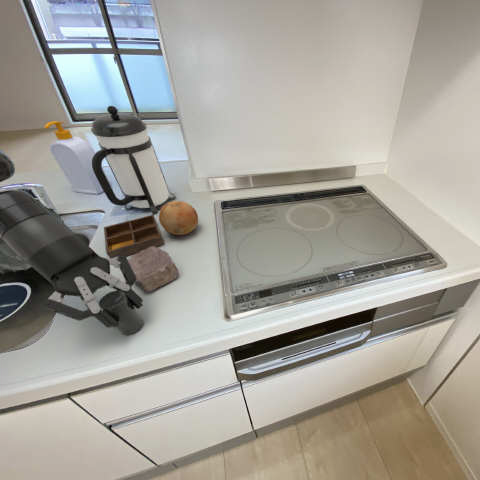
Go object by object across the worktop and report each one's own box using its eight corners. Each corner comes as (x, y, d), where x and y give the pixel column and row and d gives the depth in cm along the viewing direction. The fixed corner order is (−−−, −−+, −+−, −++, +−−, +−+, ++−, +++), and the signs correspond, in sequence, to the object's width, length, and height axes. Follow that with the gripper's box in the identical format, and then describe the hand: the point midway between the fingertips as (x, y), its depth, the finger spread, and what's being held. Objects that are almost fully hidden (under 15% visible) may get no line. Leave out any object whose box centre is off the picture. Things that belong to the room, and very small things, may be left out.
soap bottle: (73, 193, 90) (29, 123, 75) (89, 184, 95) (51, 117, 81) (97, 196, 89) (58, 126, 75) (112, 186, 95) (78, 119, 80)
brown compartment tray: (111, 261, 66) (106, 252, 64) (108, 235, 73) (103, 227, 72) (164, 244, 72) (161, 236, 70) (156, 222, 79) (153, 214, 77)
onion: (200, 219, 82) (191, 191, 75) (202, 237, 75) (194, 208, 69) (165, 225, 78) (154, 196, 72) (165, 245, 71) (152, 215, 65)
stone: (124, 270, 63) (115, 257, 61) (161, 253, 69) (155, 239, 66) (145, 297, 58) (137, 283, 55) (184, 275, 63) (178, 262, 60)
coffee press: (122, 198, 89) (73, 101, 70) (173, 189, 95) (141, 98, 76) (121, 225, 77) (63, 118, 58) (179, 213, 84) (144, 112, 65)
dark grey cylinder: (122, 339, 50) (99, 312, 44) (120, 324, 53) (98, 296, 47) (145, 329, 52) (126, 301, 46) (142, 315, 54) (124, 287, 49)
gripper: (-7, 267, 37) (91, 347, 41) (97, 218, 47) (167, 286, 51) (1, 279, 42) (87, 349, 46) (93, 232, 52) (157, 293, 56)
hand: (129, 315), depth 48 cm, fingers closed on dark grey cylinder, 4 cm apart
